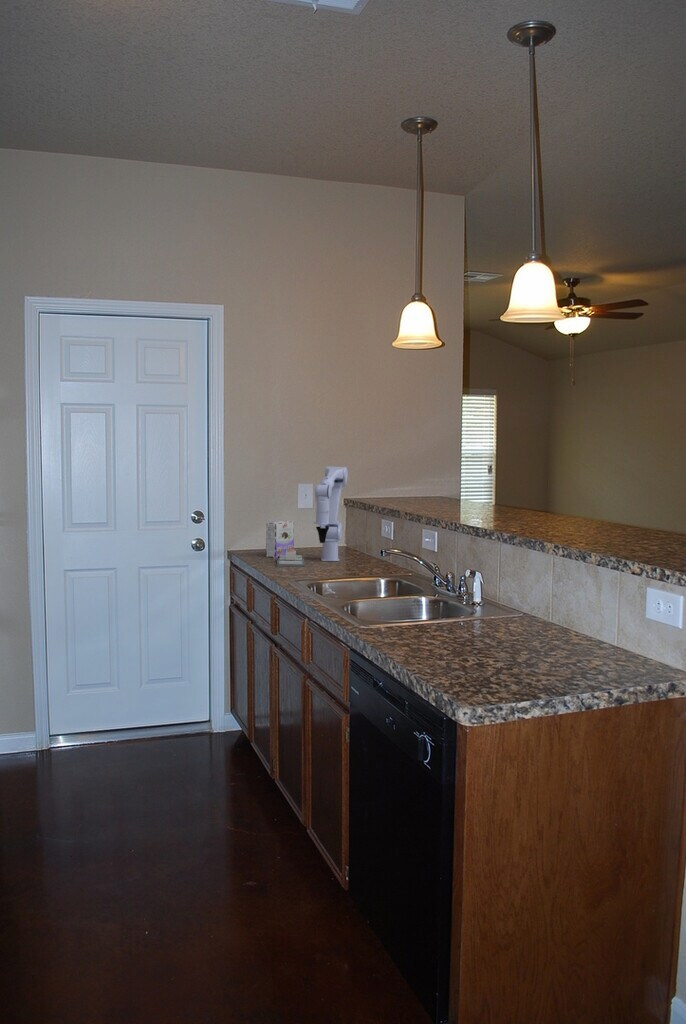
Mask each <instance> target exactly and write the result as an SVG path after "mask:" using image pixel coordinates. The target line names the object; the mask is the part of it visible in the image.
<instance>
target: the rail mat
mask: <svg viewBox="0 0 686 1024" xmlns="http://www.w3.org/2000/svg"><path fill="white" fill-rule="evenodd" d="M276 559H277V560H276V561H277V562H276V567H302V566H305V565H306V563H305V558H304V557H303V555H299V554H296V560H286V555H280V557H279V558H276Z"/></svg>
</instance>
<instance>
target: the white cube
mask: <svg viewBox="0 0 686 1024" xmlns="http://www.w3.org/2000/svg"><path fill="white" fill-rule="evenodd" d="M296 555H297V551H296V550H295V548H294V549H288V550H286V560H296Z"/></svg>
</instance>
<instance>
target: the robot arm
mask: <svg viewBox="0 0 686 1024" xmlns="http://www.w3.org/2000/svg"><path fill="white" fill-rule="evenodd" d="M348 470H349V469H348V468H347V466H328V465H327V466H326V467H325V469H324V477H323V478H322V480H321V481H320V483H319V484H317V485H315V488H314V497H315V503H316V510H315V511H316V513H315V514H316V516H315V521H313V523H312V524H315V525H318V526H316V527H315V528H316V531H317V534H318V540H319V543H320V544H322V546H321V548H322V551H321V553H322V556H321V557H320V559H321V562H340V558H339V541H341V539H342V538H343V537H342V536H343V525H342V523H341V522H340V521H339V520H338V516H339V510H340V503H341V498H342V497H341V495H342V492H343V491H342V490H343V488H345V487H346V486H347V482H348V476H349V475H348Z"/></svg>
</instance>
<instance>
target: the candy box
mask: <svg viewBox="0 0 686 1024" xmlns="http://www.w3.org/2000/svg"><path fill="white" fill-rule="evenodd" d="M265 537H266V542H265V543H266V546H265V547H266V549H265V550H266V551H265V553H266V554H265V557H266V558H271V559H278V557H279V558H280V555H286V550H288V549H294V550H295V543H294V542H295V520H287V519H286V520H279V521H278V520H277V521H276V520H275V521H270V522H268V521H267V522H266V536H265Z"/></svg>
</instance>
